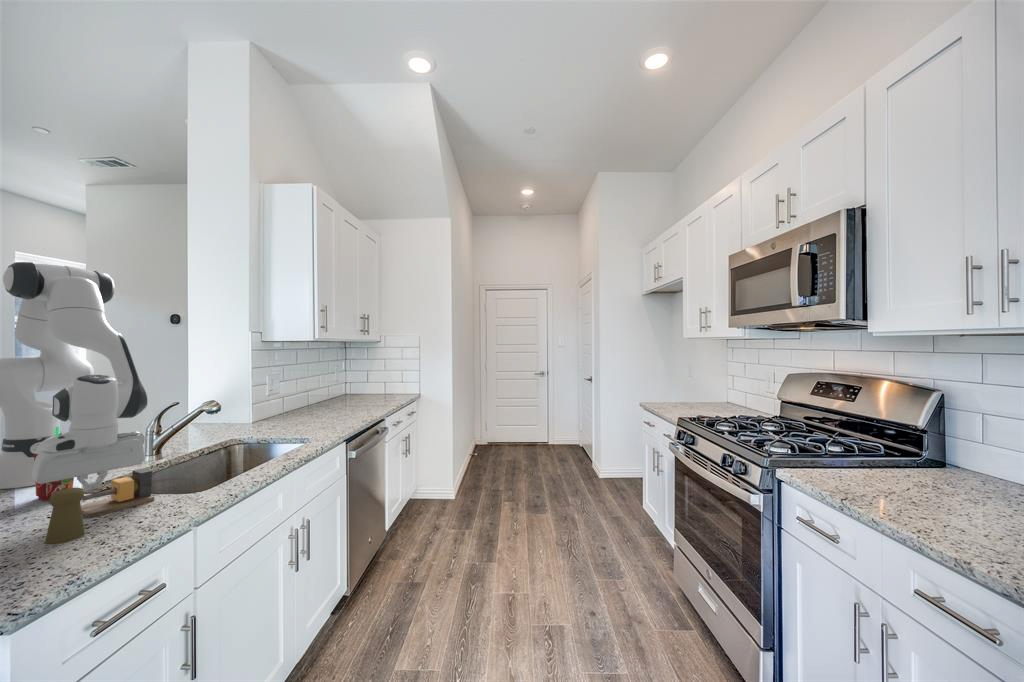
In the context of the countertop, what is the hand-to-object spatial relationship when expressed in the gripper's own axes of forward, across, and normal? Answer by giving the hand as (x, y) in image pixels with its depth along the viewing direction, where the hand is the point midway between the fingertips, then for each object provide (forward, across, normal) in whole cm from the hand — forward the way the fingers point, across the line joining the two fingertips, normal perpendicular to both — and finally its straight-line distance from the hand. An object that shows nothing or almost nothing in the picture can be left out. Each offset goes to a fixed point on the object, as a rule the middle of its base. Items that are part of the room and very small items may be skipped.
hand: (91, 490), depth 103 cm
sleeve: (+4, -6, 0) cm, 7 cm away
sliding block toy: (+6, -5, 0) cm, 7 cm away
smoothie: (+6, +1, -22) cm, 23 cm away
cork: (+6, +8, +14) cm, 17 cm away
